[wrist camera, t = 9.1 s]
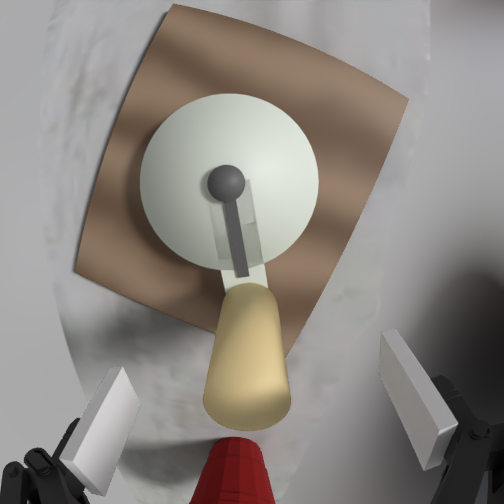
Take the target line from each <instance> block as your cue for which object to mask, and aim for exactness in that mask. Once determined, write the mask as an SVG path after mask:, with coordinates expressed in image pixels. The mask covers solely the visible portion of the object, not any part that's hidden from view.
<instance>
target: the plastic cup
mask: <svg viewBox="0 0 504 504" xmlns="http://www.w3.org/2000/svg"><path fill="white" fill-rule="evenodd" d="M189 504H275V500H274V497H273V493H272V489H271V485H270V481H269V477H268V473H267V469H266V468H265V464H264V460H263V455H262V452H261V451H260V448H259V446H258V445H257V444H256V443H254V442H253V441H251V440H249V439H245V438H240V437H229V438H225V439H221V440H219V441H218V442H216V443H215V444H214V446H213V448H212V449H211V451H210V454H209V457H208V459H207V462H206V464H205V466H204V468H203V470H202V473H201V476H200V478H199V481H198V484H197V486H196V489H195V491H194V494H193V497H192V499H191V501H190V503H189Z"/></svg>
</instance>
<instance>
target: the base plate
mask: <svg viewBox="0 0 504 504" xmlns="http://www.w3.org/2000/svg"><path fill="white" fill-rule="evenodd" d="M217 94H242V95H248V96H252V97H256V98H259V99H262V100H264V101H266V102H269V103H271V104H272V105H274V106H276V107H277V108H279V109H281V110H282V111H283V112H285V113H286V114H287V115H288V116H289V117H291V118H292V119H293V121H294V122H295V123H296V124H297V125H298V126H299V127H300V129H301V130H302V131H303V133H304V134H305V136H306V137H307V139H308V141H309V143H310V145H311V147H312V150H313V153H314V156H315V159H316V164H317V168H318V179H319V183H318V195H317V200H316V205H315V208H314V211H313V214H312V216H311V218H310V220H309V222H308V224H307V226H306V228H305V229H304V231H303V232H302V234H301V235H300V236H299V238H298V239H297V240H296V241H295V242H294V243H293V244H292V245H291V246H290V247H289V248H288V249H287V250H286V251H284V252H283V253H281V254H280V255H279V256H277V257H276V258H274V259H272V260H270V261H268V262H266V263H264V265H265V271H266V277H267V284H268V289H269V290H270V291H271V292H272V293H273V294H274V296H275V298H276V301H277V305H278V312H279V319H280V326H281V332H282V339H283V346H284V353H285V358H286V357H287V355H288V353H289V351H290V350H291V348H292V346H293V344H294V343H295V341H296V339H297V338H298V336H299V334H300V332H301V330H302V329H303V327H304V325H305V323H306V321H307V320H308V318H309V316H310V314H311V312H312V311H313V309H314V307H315V305H316V303H317V301H318V299H319V298H320V296H321V294H322V292H323V290H324V288H325V286H326V284H327V282H328V281H329V279H330V277H331V275H332V273H333V271H334V269H335V267H336V265H337V263H338V261H339V259H340V257H341V255H342V253H343V251H344V249H345V247H346V245H347V243H348V241H349V239H350V237H351V235H352V232H353V230H354V228H355V226H356V224H357V222H358V220H359V218H360V215H361V213H362V211H363V209H364V207H365V205H366V202H367V200H368V198H369V196H370V194H371V191H372V189H373V187H374V185H375V182H376V180H377V178H378V175H379V173H380V171H381V168H382V166H383V164H384V161H385V159H386V156H387V154H388V152H389V149H390V147H391V144H392V142H393V139H394V137H395V134H396V132H397V129H398V127H399V124H400V121H401V119H402V116H403V114H404V111H405V108H406V106H407V103H408V100H409V99H408V98H407V97H405V96H403V95H402V94H400V93H399V92H397V91H395V90H394V89H392V88H390V87H389V86H387V85H385V84H384V83H382V82H380V81H378V80H377V79H375V78H373V77H371V76H370V75H368V74H366V73H364V72H362V71H360V70H358V69H357V68H355V67H353V66H351V65H349V64H347V63H345V62H343V61H341V60H339V59H337V58H335V57H333V56H330V55H328V54H326V53H324V52H322V51H320V50H317V49H315V48H313V47H311V46H308V45H306V44H304V43H301V42H299V41H296V40H294V39H291V38H289V37H286V36H284V35H281V34H279V33H276V32H273V31H270V30H268V29H265V28H262V27H259V26H256V25H253V24H250V23H247V22H244V21H240V20H237V19H234V18H230V17H227V16H223V15H220V14H216V13H212V12H208V11H204V10H200V9H196V8H192V7H187V6H182V5H177V4H173V5H172V6H171V8H170V10H169V12H168V13H167V15H166V17H165V19H164V20H163V22H162V24H161V26H160V28H159V29H158V31H157V33H156V35H155V37H154V39H153V41H152V43H151V45H150V47H149V49H148V51H147V53H146V55H145V57H144V59H143V61H142V63H141V65H140V67H139V69H138V71H137V74H136V76H135V78H134V80H133V83H132V85H131V87H130V89H129V92H128V94H127V96H126V99H125V101H124V104H123V106H122V109H121V111H120V114H119V116H118V119H117V122H116V124H115V127H114V130H113V132H112V135H111V138H110V141H109V143H108V146H107V149H106V152H105V155H104V158H103V161H102V165H101V168H100V171H99V174H98V177H97V181H96V184H95V188H94V191H93V195H92V198H91V202H90V206H89V210H88V214H87V218H86V222H85V226H84V230H83V235H82V239H81V244H80V249H79V254H78V259H77V264H76V269H75V272H76V273H78V274H80V275H82V276H84V277H86V278H88V279H90V280H92V281H94V282H96V283H98V284H100V285H102V286H105V287H107V288H109V289H111V290H113V291H115V292H117V293H120V294H122V295H124V296H126V297H128V298H131V299H133V300H135V301H137V302H140V303H142V304H144V305H147V306H149V307H151V308H154V309H156V310H158V311H161V312H163V313H165V314H168V315H170V316H173V317H175V318H178V319H180V320H182V321H185V322H187V323H190V324H192V325H195V326H198V327H200V328H203V329H205V330H208V331H211V332H213V333H216V332H217V327H218V322H219V317H220V313H221V308H222V303H223V300H224V297H225V295H226V292H225V288H224V283H223V278H222V273H221V270H216V269H210V268H206V267H203V266H199V265H197V264H194V263H192V262H190V261H188V260H186V259H184V258H183V257H181V256H179V255H178V254H176V253H175V252H174V251H173V250H171V249H170V248H169V247H168V246H167V245H166V244H165V243H164V242H163V241H162V240H161V239H160V237H159V236H158V235H157V234H156V232H155V231H154V229H153V227H152V226H151V224H150V222H149V220H148V218H147V216H146V213H145V211H144V207H143V203H142V199H141V192H140V172H141V165H142V161H143V157H144V154H145V152H146V149H147V147H148V144H149V142H150V141H151V139H152V137H153V135H154V134H155V132H156V131H157V130H158V128H159V127H160V126H161V124H162V123H163V122H164V121H165V120H166V119H167V118H168V117H169V116H170V115H172V114H173V113H174V112H176V111H177V110H178V109H180V108H181V107H183V106H185V105H186V104H188V103H190V102H193V101H195V100H197V99H200V98H203V97H207V96H211V95H217Z"/></svg>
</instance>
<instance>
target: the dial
mask: <svg viewBox="0 0 504 504" xmlns="http://www.w3.org/2000/svg"><path fill="white" fill-rule="evenodd" d="M318 183H319V179H318V168H317V164H316V159H315V156H314V153H313V150H312V147H311V145H310V143H309V141H308V139H307V137H306V136H305V134H304V133H303V131H302V130H301V129H300V127H299V126H298V125H297V124H296V123H295V122H294V121H293V119H292V118H291V117H289V116H288V115H287V114H286V113H285V112H283V111H282V110H281V109H279V108H277V107H276V106H274V105H272V104H271V103H269V102H266V101H264V100H262V99H259V98H256V97H252V96H248V95H242V94H217V95H211V96H207V97H203V98H200V99H197V100H195V101H193V102H190V103H188V104H186V105H185V106H183V107H181V108H180V109H178V110H177V111H176V112H174V113H173V114H172V115H170V116H169V117H168V118H167V119H166V120H165V121H164V122H163V123H162V124H161V126H160V127H159V128H158V130H157V131H156V132H155V134H154V135H153V137H152V139H151V141H150V142H149V144H148V147H147V149H146V152H145V154H144V157H143V161H142V165H141V172H140V192H141V199H142V203H143V207H144V211H145V213H146V216H147V218H148V220H149V222H150V224H151V226H152V227H153V229H154V231H155V232H156V234H157V235H158V236H159V237H160V239H161V240H162V241H163V242H164V243H165V244H166V245H167V246H168V247H169V248H170V249H171V250H173V251H174V252H175V253H176V254H178V255H179V256H181V257H183V258H184V259H186V260H188V261H190V262H192V263H194V264H197V265H199V266H203V267H206V268H210V269H216V270H221V273H222V278H223V283H224V288H225V292H226V295H225V297H224V300H223V303H222V308H221V313H220V317H219V322H218V327H217V332H216V336H215V341H214V346H213V351H212V355H211V360H210V365H209V370H208V375H207V380H206V385H205V390H204V395H203V404H204V408H205V410H206V412H207V413H208V415H209V416H210V417H211V418H212V419H213V420H215V421H216V422H217V423H219V424H221V425H223V426H225V427H227V428H230V429H234V430H240V431H256V430H262V429H265V428H268V427H271V426H273V425H275V424H277V423H278V422H279V421H281V420H282V419H283V418H284V417H285V416H286V414H287V413H288V411H289V409H290V406H291V396H290V389H289V381H288V374H287V367H286V360H285V353H284V346H283V339H282V332H281V326H280V319H279V312H278V305H277V301H276V298H275V296H274V294H273V293H272V292H271V291H270V290H269V289H268V284H267V277H266V271H265V265H264V263H266V262H268V261H270V260H272V259H274V258H276V257H277V256H279V255H280V254H281V253H283V252H284V251H286V250H287V249H288V248H289V247H290V246H291V245H292V244H293V243H294V242H295V241H296V240H297V239H298V238H299V236H300V235H301V234H302V232H303V231H304V229H305V228H306V226H307V224H308V222H309V220H310V218H311V216H312V214H313V211H314V208H315V205H316V200H317V195H318Z"/></svg>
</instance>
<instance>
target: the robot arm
mask: <svg viewBox="0 0 504 504" xmlns="http://www.w3.org/2000/svg"><path fill="white" fill-rule="evenodd" d="M379 376H380V378H381V379H382V382H383V383H384V386H385V388H386V390H387V392H388V394H389V396H390V398H391V400H392V402H393V404H394V406H395V409H396V411H397V413H398V415H399V417H400V419H401V421H402V423H403V426H404V428H405V430H406V432H407V434H408V437H409V439H410V441H411V443H412V445H413V448H414V450H415V452H416V454H417V457H418V459H419V461H420V463H421V466H422V468H423V470H424V471H425V470H428V469H430V468H433V467H435V466H438V465H440V464H441V462H442V460H443V458H445V460H446V462H447V466H446V468H445V470H444V472H443V473H442V478H441V480H440V483H439V485H438V488H437V490H436V492H435V494H434V497H433V499H432V501H431V503H430V504H474V503H475V499H476V497H477V494H478V491H479V488H480V484H481V481H482V478H483V475H484V471H488V495H487V504H504V423H502V424H497V425H490V424H489V423H488V422H486V421H483V420H478V419H477V418H476V417H475V415H474V414H473V412H472V411H471V409H470V408H469V406H468V405H467V403H466V402H465V400H464V399H463V398H462V396H460V393H459V392H458V391H457V390H456V388H455V387H454V385H453V384H452V382H451V381H450V380H449V379H447V378H445V377H444V376H442V375H440V376H437V377H434V378H431V379H430V378H429V377H428V375H427V374H426V372H425V371H424V369H423V368H422V366H421V365H420V363H419V362H418V360H417V359H416V358H415V356H414V355H413V353H412V352H411V350H410V349H409V347H408V346H407V344H406V343H405V342H404V340H403V339H402V337H401V336H400V335H399V333H398V332H397V331H396V329H395V328H394V329H390V330H386V331H382V332H381V341H380V363H379ZM140 405H141V403H140V401H139V399H138V397H137V395H136V393H135V391H134V389H133V387H132V385H131V383H130V381H129V379H128V377H127V375H126V372H125V370H124V368H123V367H110V369H109V371H108V372H107V374H106V376H105V377H104V379H103V381H102V383H101V384H100V386H99V388H98V389H97V391H96V393H95V394H94V396H93V398H92V400H91V401H90V403H89V405H88V407H87V409H86V410H85V412H84V414H83V415H82V417H81V418H77V419H75V420H74V421H73V422H72V423H71V424H70V425H69V427H68V429H67V431H66V433H65V434H64V436H63V439H61V441H60V443H59V445H58V447H57V448H56V450H55V452H54V454H53V456H52V457H50V456H49V455H48V453H47V452H46V451H45V450H44V449H42V448H33V449H32V450H30V451H28V453H27V454H26V455H25V457H24V463H25V464H26V465H27V466H28V468H24V467H23V466H22V465H21V464H20V463H19V462H17V461H14V462H10V463H9V464H7V465H6V466H5V468H4V470H3V475H2V483H1V492H0V504H27V500H28V501H29V504H90V503H89V501H88V499H87V496H86V495H85V493H84V492H83V491H84V489H85V487H86V488H87V489H88V490H89V491H90V492H91V493H92V494H96V495H100V496H106V493H107V490H108V488H109V485H110V482H111V480H112V477H113V474H114V472H115V469H116V466H117V464H118V461H119V458H120V456H121V453H122V451H123V448H124V445H125V443H126V440H127V438H128V435H129V433H130V430H131V428H132V425H133V423H134V420H135V418H136V415H137V413H138V410H139V408H140Z"/></svg>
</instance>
